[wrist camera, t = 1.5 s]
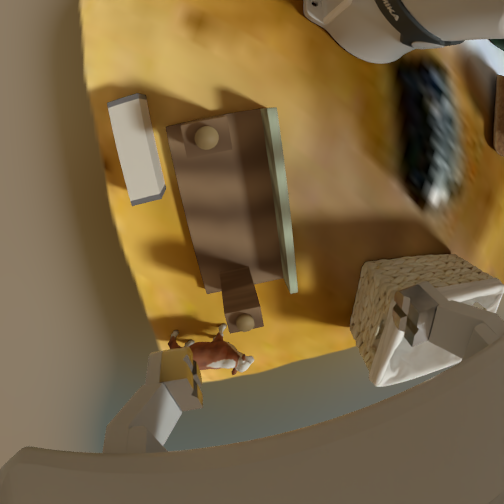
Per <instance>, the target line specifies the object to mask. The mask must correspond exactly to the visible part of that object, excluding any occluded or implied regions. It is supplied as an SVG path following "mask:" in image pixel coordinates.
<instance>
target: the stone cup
mask: <svg viewBox="0 0 504 504" xmlns="http://www.w3.org/2000/svg"><path fill="white" fill-rule="evenodd" d="M493 145H494V149H495V151H496V152H497V153H498V154H500V155H501V156H504V76H502V75H497V79H496V100H495V116H494V133H493Z"/></svg>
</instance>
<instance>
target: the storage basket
mask: <svg viewBox="0 0 504 504" xmlns="http://www.w3.org/2000/svg"><path fill="white" fill-rule="evenodd" d="M423 281H428V282H429V283H430V284H431V285H433V286H434V287H435V288H436V289H437V290H438V291H439V292H440V293H441V294H442V295H443V296H444V297H446V298H447V299H448V300H449V301H450V300H454V301H457V302H461V303H464V304H467V305H470V306H473V304H474V303H475V302H478V303H479V304H480V305H482V306H483V307H484V309H483V310H487V311H490V312H493V313H496V311H497V308H498V306H499V303H500V300H501V298H502V295H503V293H504V285H503V284H502V283H501V281H500V280H499V279H497V278H493V277H492V276H490V275H489V274H487V273H484V272H482V271H481V270H480V269H478V268H477V267H476V266H473V265H472V264H470V263H469V262H468V261H465V260H464V259H463V258H461V257H458V256H457V255H456V254H444V255H442V254H440V255H425V256H413V257H409V256H407V257H402V258H397V259H391V260H387V259H381V260H378V261H368V262H365V263H364V265H363V266H362V269H361V274H360V280H359V284H358V290H357V293H356V297H355V303H354V306H353V313H352V315H351V319H350V331H351V333H352V335H353V338H354V339H355V341H356V345H357V347H358V348H359V352H360V355H361V356H362V357H363V360H364V362H365V363H366V366H367V368H368V370H369V380H370V381H371V382H372V383H374V385H375V386H377V387H382V386H388V385H392V384H396V383H401V382H405V381H408V380H411V379H414V378H417V377H420V376H423V375H426V374H429V373H431V372H434V371H437V370H440V369H443V368H446V367H449V366H451V365H453V364H456V363H458V362H460V361H462V358H460V357H458V356H456V355H454V354H452V353H450V352H448V351H446V350H444V349H442V348H440V347H438V346H436V345H434V344H433V343H431V342H429V340H428V341H426V342H423V343H421V344H419V345H416V346H414V347H411V345H410V344H409V343H408V341H407V340H406V339H405V338H404V332H403V331H400V330H398V329H397V327H396V326H395V324H394V322H393V317H392V311H393V308H394V306H395V305H396V302H395V301H394V295H395V293H396V291H399V290H402V289H405V288H408V287H410V286H413V285H416V284H418V283H421V282H423ZM353 323H354V324H353Z"/></svg>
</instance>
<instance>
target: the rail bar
mask: <svg viewBox="0 0 504 504" xmlns="http://www.w3.org/2000/svg"><path fill="white" fill-rule="evenodd" d="M107 105H108V111H109V115H110V120H111V125H112V130H113V134H114V139H115V143H116V147H117V151H118V156H119V160H120V164H121V168H122V171H123V175H124V179H125V183H126V186H127V190H128V194H129V197H130V201H131V204H132V206H134V205H138V204H142V203H146V202H150V201H154V200H158V199H161V198H162V196H163V194H164V192H165V190H166V186H165V182H164V177H163V173H162V169H161V165H160V160H159V156H158V152H157V147H156V143H155V138H154V133H153V129H152V124H151V119H150V114H149V109H148V104H147V99H146V95H143V94H139V93H137V94H133V95H130V96H127V97H123V98H120V99H117V100H114V101H111V102H108V103H107Z"/></svg>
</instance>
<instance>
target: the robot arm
mask: <svg viewBox="0 0 504 504" xmlns="http://www.w3.org/2000/svg"><path fill="white" fill-rule="evenodd" d="M312 3H315V4H316V7H315V6H313V5H312ZM303 12H304V15H305V16H306V17H307V18H308V19H309V20H310V21H312V22H314V23H315V24H317V25H319V26H321V27H323V28H324V29H325V30H327V31H328V32H329V34H330V35H331V36H332V37H333V38H334V39H335V40H336V42H337V43H338V44H339V45H340V46H342V47H343V48H344V49H345V50H346V51H348V52H349V53H351V54H352V55H354V56H356V57H358V58H360V59H362V60H365V61H368V62H372V63H389V62H393V61H395V60H397V59H399V58H400V57H401V56H402V55H404V54H405V53H407V52H409V51H411V50H414V49H417V48H418V49H432V48H442V47H444V46H450V45H457V44H460V43H462V42H464V41H465V40H477V39H504V0H303ZM394 301H395V302H396V305H395V306H394V308H393V311H392V317H393V322H394V324H395V326H396V327H397V329H398V330H400V331H403V332H404V338H405V339H406V340H407V341H408V343H409V344H410V345H411V347H414V346H416V345H419V344H421V343H423V342H426V341H428V340H429V342H431V343H433V344H434V345H436V346H438V347H440V348H442V349H444V350H446V351H448V352H450V353H452V354H454V355H456V356H458V357H460V358H462V361H461V362H460V363H459V364H457V365H455V366H453V367H451V368H449V369H448V370H446V371H444V372H442V373H440V374H438V375H436V376H434V377H432V378H430V379H428V380H426V381H425V382H422V383H421V384H418V385H416V386H414V387H412V388H410V389H408V390H406V391H404V392H401V393H399V394H397V395H394V396H392V397H390V398H387V399H385V400H383V401H380V402H378V403H375V404H373V405H370V406H368V407H365V408H362V409H360V410H357V411H354V412H351V413H349V414H346V415H343V416H340V417H337V418H334V419H331V420H328V421H325V422H321V423H318V424H315V425H311V426H308V427H305V428H301V429H297V430H293V431H290V432H285V433H282V434H277V435H273V436H269V437H264V438H259V439H255V440H250V441H245V442H239V443H233V444H228V445H221V446H215V447H207V448H201V449H192V450H181V451H171V452H168V451H167V450H166V449H165V448H164V447H163V445H164V443H165V441H166V440H167V438H168V436H169V434H170V433H171V431H172V429H173V428H174V426H175V424H176V422H177V420H178V419H179V417H180V415H181V413H182V411H188V410H194V409H199V408H203V395H202V392H201V390H200V387H201V385H202V378H201V373H200V369H199V366H198V364H197V362H196V361H195V360H193V353H192V351H191V349H190V347H183V348H176V349H170V350H163V351H159V352H152V353H151V354H150V355H149V360H148V367H147V375H146V382H145V385H142V386H141V387H140V388H139V389H138V390H137V392H136V393H135V394H134V395H133V396H132V397H131V399H130V400H129V401H128V402H127V403H126V404H125V406H124V407H123V408H122V409H121V410H120V412H119V413H118V414H117V415H116V416H115V417H114V418H113V420H112V421H111V422H110V423H109V424H108V425H107V428H106V433H105V440H104V446H103V453H86V452H71V451H60V450H51V449H44V448H37V447H24V448H22V449H21V450H20V451H18V452H17V453H16V454H15V455H14V456H13V457H12V458H11V459H10V460H9V461H8V462H7V463H6V464H5V465H4V466H3V467H2V468H1V469H0V504H504V321H503V319H501V318H500V317H499V316H498V315H497V314H496V313H493V312H490V311H487V310H483V309H480V308H477V307H473V306H470V305H467V304H464V303H461V302H457V301H454V300H450V301H449V300H448V299H447V298H446V297H444V296H443V295H442V294H441V293H440V292H439V291H438V290H437V289H436V288H435V287H434V286H433V285H431V284H430V283H429V282H428V281H423V282H421V283H418V284H416V285H413V286H410V287H408V288H405V289H402V290H399V291H396V293H395V295H394Z"/></svg>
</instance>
